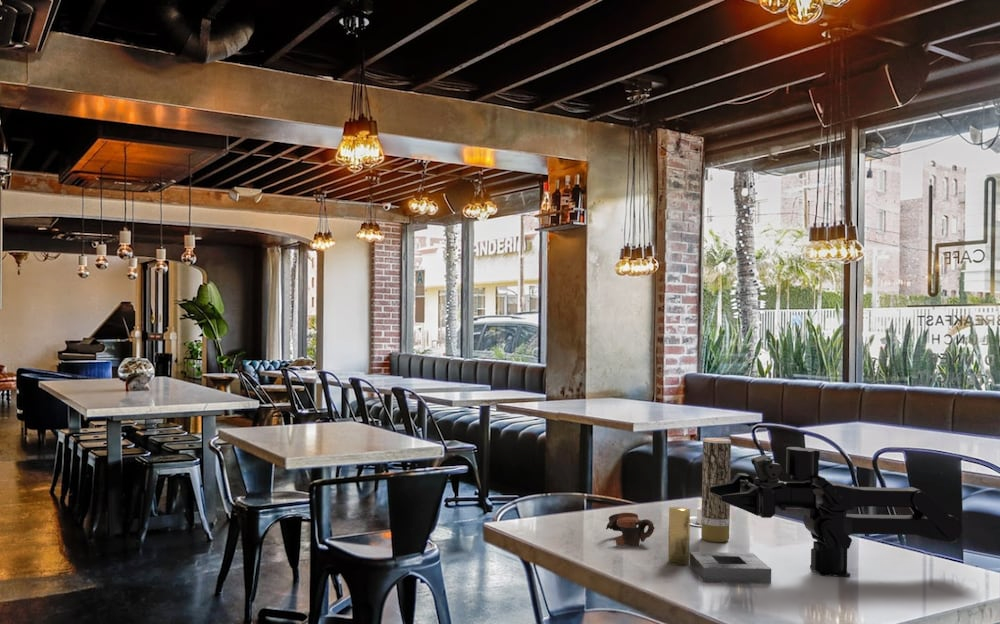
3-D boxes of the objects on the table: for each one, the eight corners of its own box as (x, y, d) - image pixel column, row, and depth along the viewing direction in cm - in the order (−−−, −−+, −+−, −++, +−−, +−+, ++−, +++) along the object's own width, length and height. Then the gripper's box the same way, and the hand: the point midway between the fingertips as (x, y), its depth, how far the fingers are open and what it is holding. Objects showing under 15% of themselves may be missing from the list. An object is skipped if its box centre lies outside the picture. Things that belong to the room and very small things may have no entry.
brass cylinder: (686, 559, 186) (687, 506, 186) (691, 565, 181) (692, 511, 181) (666, 559, 186) (667, 506, 186) (670, 565, 181) (671, 511, 181)
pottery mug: (603, 547, 197) (600, 514, 201) (615, 556, 204) (611, 524, 209) (652, 540, 193) (648, 506, 197) (662, 549, 200) (658, 516, 205)
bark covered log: (726, 536, 208) (728, 438, 208) (731, 543, 201) (733, 441, 201) (699, 535, 208) (701, 437, 209) (703, 542, 202) (705, 440, 202)
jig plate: (752, 566, 182) (752, 553, 182) (771, 583, 170) (771, 568, 170) (689, 565, 182) (689, 551, 182) (703, 582, 170) (704, 567, 170)
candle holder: (673, 520, 227) (673, 504, 227) (711, 518, 230) (711, 502, 230) (696, 530, 215) (696, 514, 215) (736, 528, 219) (736, 512, 219)
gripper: (772, 451, 189) (704, 450, 188) (803, 465, 170) (728, 463, 170) (771, 500, 188) (704, 498, 188) (802, 519, 170) (727, 517, 170)
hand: (715, 493), depth 179 cm, fingers open, 9 cm apart
